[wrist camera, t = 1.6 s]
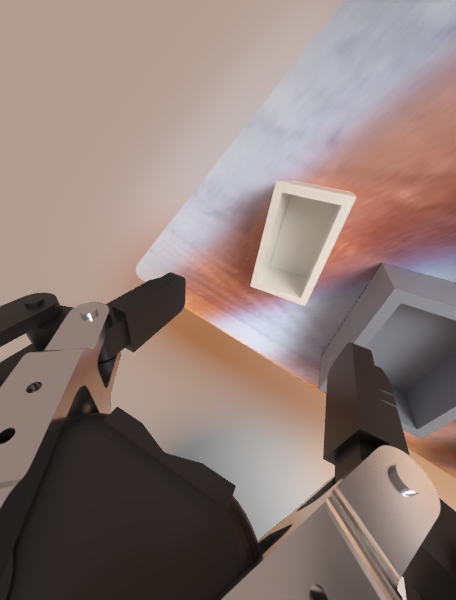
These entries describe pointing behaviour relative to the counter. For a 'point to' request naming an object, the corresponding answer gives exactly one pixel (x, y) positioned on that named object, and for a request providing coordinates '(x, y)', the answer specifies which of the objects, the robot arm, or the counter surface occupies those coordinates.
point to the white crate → (299, 237)
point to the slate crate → (406, 343)
